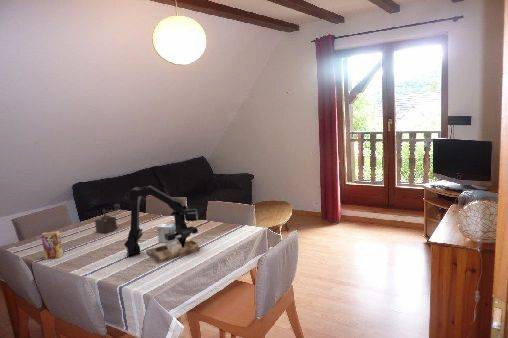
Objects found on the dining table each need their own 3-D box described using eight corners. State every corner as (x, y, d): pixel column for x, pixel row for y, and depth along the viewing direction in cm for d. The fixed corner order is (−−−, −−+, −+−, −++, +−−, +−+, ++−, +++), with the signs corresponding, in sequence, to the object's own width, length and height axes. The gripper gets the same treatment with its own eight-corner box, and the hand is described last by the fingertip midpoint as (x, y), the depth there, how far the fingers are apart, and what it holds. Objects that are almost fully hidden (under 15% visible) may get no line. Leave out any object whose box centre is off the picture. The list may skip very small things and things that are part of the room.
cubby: (180, 252, 203) (179, 249, 202) (173, 247, 211) (173, 244, 210) (198, 247, 209) (198, 244, 209) (191, 242, 217) (190, 239, 217)
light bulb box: (178, 239, 230) (176, 223, 228) (173, 243, 224) (171, 226, 222) (163, 238, 233) (161, 223, 231) (158, 242, 227) (156, 226, 225)
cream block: (172, 253, 202) (171, 247, 201) (168, 250, 207) (167, 244, 206) (181, 250, 205) (181, 244, 205) (177, 247, 210) (177, 241, 209)
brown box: (106, 234, 250) (103, 209, 247) (95, 232, 255) (92, 208, 252) (123, 227, 263) (120, 203, 260) (113, 225, 269) (110, 202, 266)
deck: (158, 263, 195) (157, 257, 194) (146, 253, 210) (145, 247, 210) (199, 250, 209) (198, 245, 208) (185, 242, 224) (185, 236, 224)
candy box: (63, 254, 216) (59, 230, 214) (60, 257, 212) (56, 233, 210) (48, 256, 216) (44, 232, 213) (44, 259, 211) (40, 234, 209)
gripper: (170, 229, 194) (173, 256, 197) (200, 220, 205) (203, 246, 207) (162, 224, 203) (165, 250, 206) (192, 216, 214) (194, 241, 216)
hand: (182, 247), depth 209 cm, fingers closed
